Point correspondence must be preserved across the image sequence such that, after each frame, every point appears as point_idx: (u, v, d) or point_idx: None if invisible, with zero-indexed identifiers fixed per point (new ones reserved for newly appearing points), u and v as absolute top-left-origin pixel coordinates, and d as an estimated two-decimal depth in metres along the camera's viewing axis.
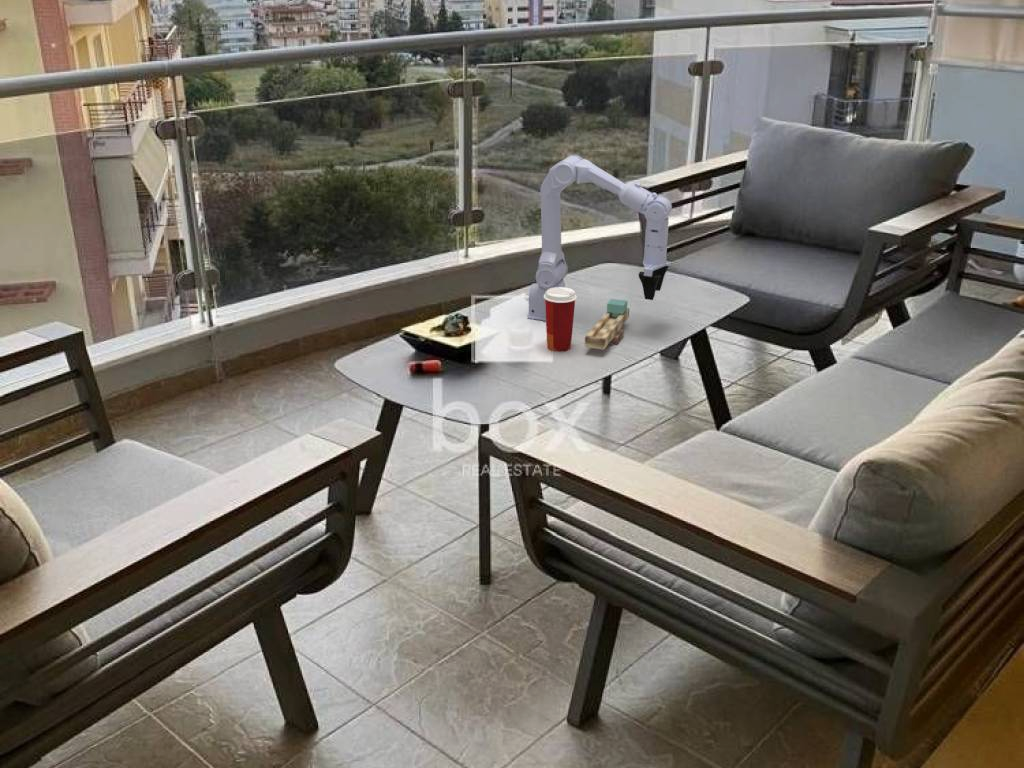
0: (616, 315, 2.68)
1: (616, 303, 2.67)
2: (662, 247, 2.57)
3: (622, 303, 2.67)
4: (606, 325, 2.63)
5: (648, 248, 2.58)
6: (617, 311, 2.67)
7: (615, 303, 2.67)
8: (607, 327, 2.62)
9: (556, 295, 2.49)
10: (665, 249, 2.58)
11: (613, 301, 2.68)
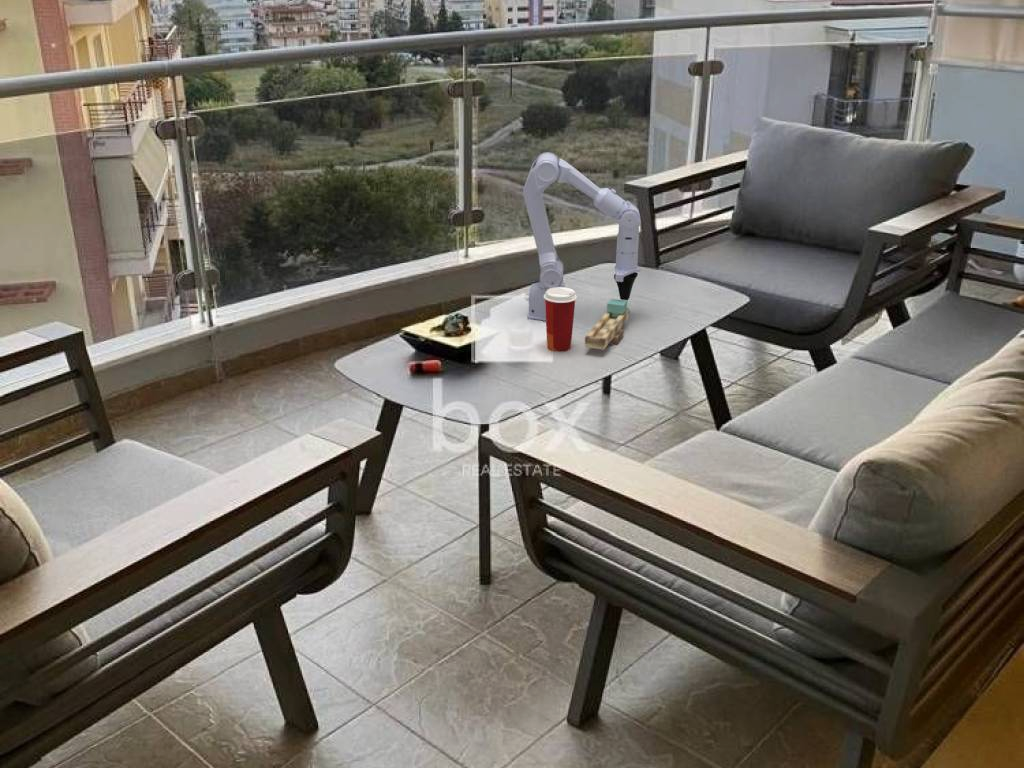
0: (616, 315, 2.68)
1: (616, 303, 2.67)
2: (633, 253, 2.67)
3: (622, 303, 2.67)
4: (606, 325, 2.63)
5: (619, 254, 2.68)
6: (617, 311, 2.67)
7: (615, 303, 2.67)
8: (607, 327, 2.62)
9: (556, 295, 2.49)
10: (636, 255, 2.68)
11: (613, 301, 2.68)
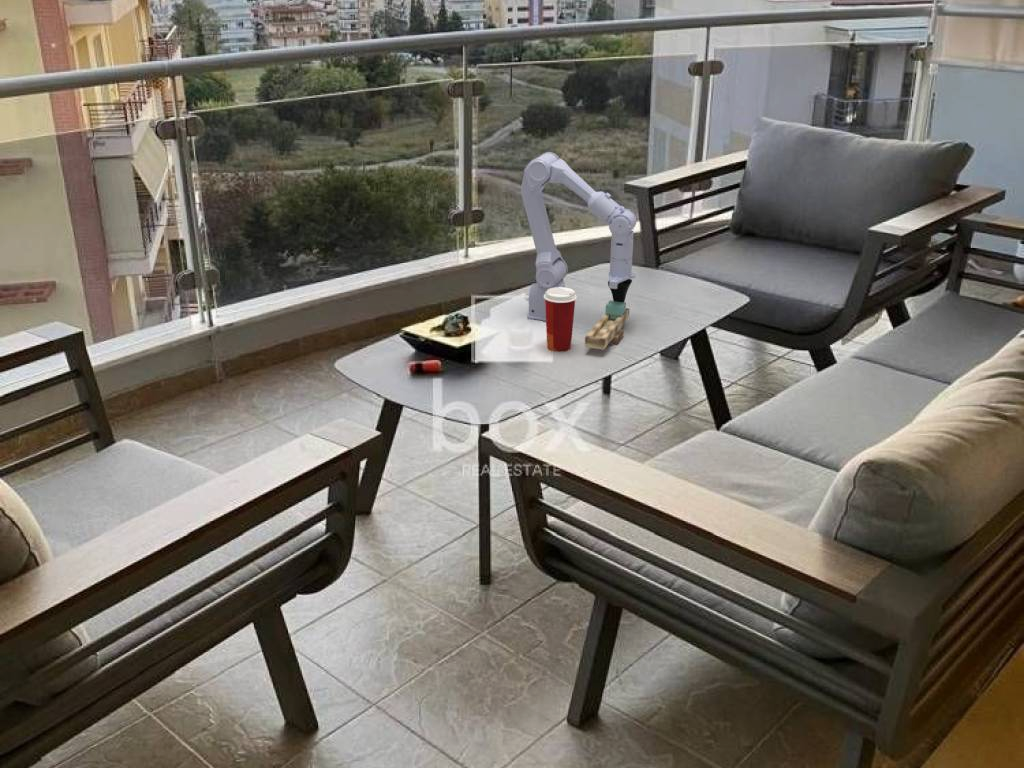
0: (614, 317, 2.66)
1: (615, 305, 2.65)
2: (627, 260, 2.62)
3: (620, 305, 2.65)
4: (606, 325, 2.63)
5: (613, 261, 2.63)
6: (615, 313, 2.65)
7: (613, 305, 2.66)
8: (607, 327, 2.62)
9: (556, 295, 2.49)
10: (630, 262, 2.63)
11: (612, 303, 2.67)
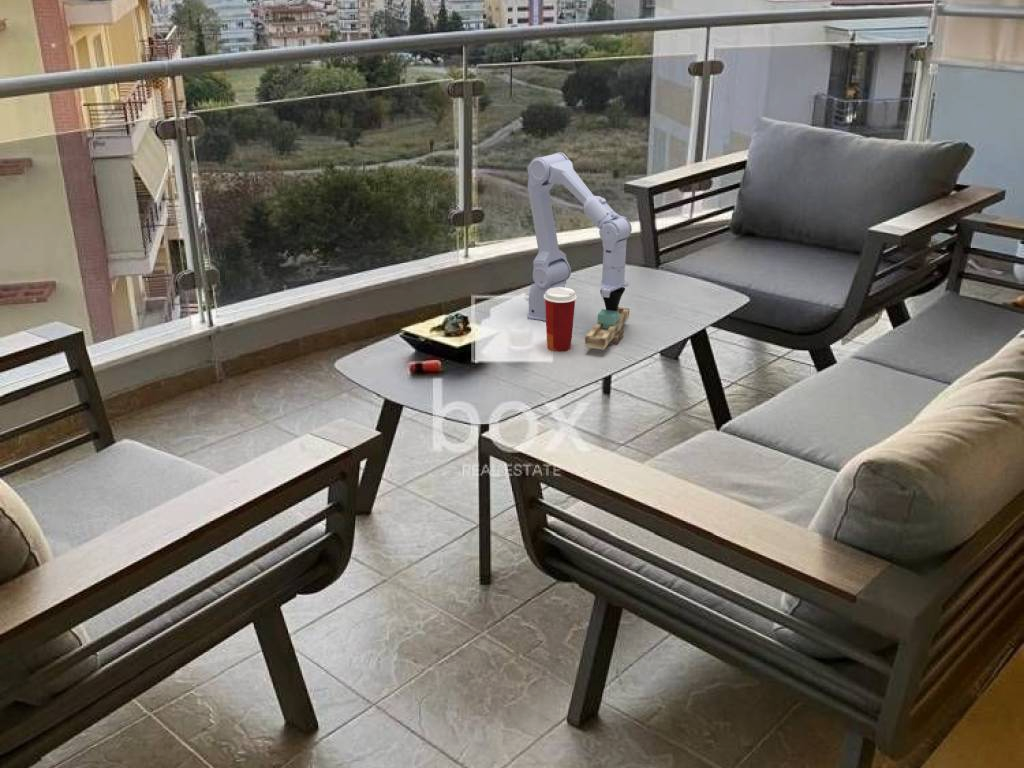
0: (607, 326, 2.60)
1: (607, 314, 2.59)
2: (620, 268, 2.56)
3: (613, 314, 2.59)
4: None
5: (606, 269, 2.57)
6: (608, 322, 2.59)
7: (606, 314, 2.60)
8: None
9: (556, 295, 2.49)
10: (623, 270, 2.57)
11: (604, 312, 2.61)
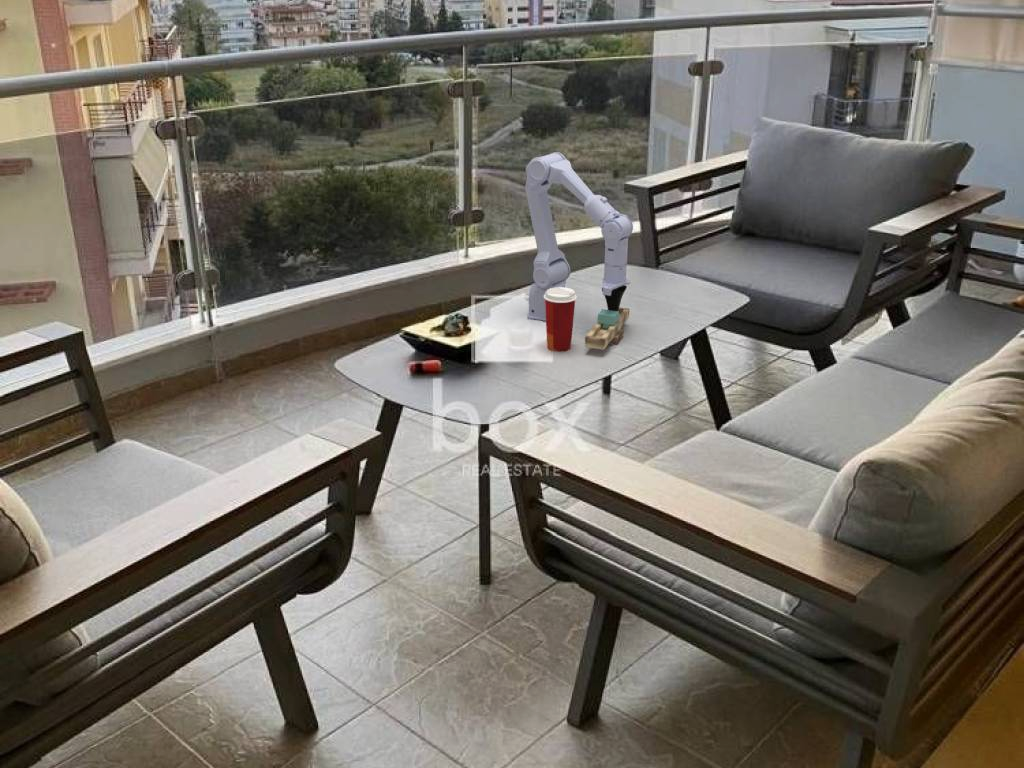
0: (607, 326, 2.60)
1: (607, 314, 2.59)
2: (621, 266, 2.57)
3: (613, 314, 2.59)
4: None
5: (607, 267, 2.58)
6: (608, 322, 2.59)
7: (606, 314, 2.60)
8: None
9: (556, 295, 2.49)
10: (624, 268, 2.58)
11: (604, 312, 2.61)
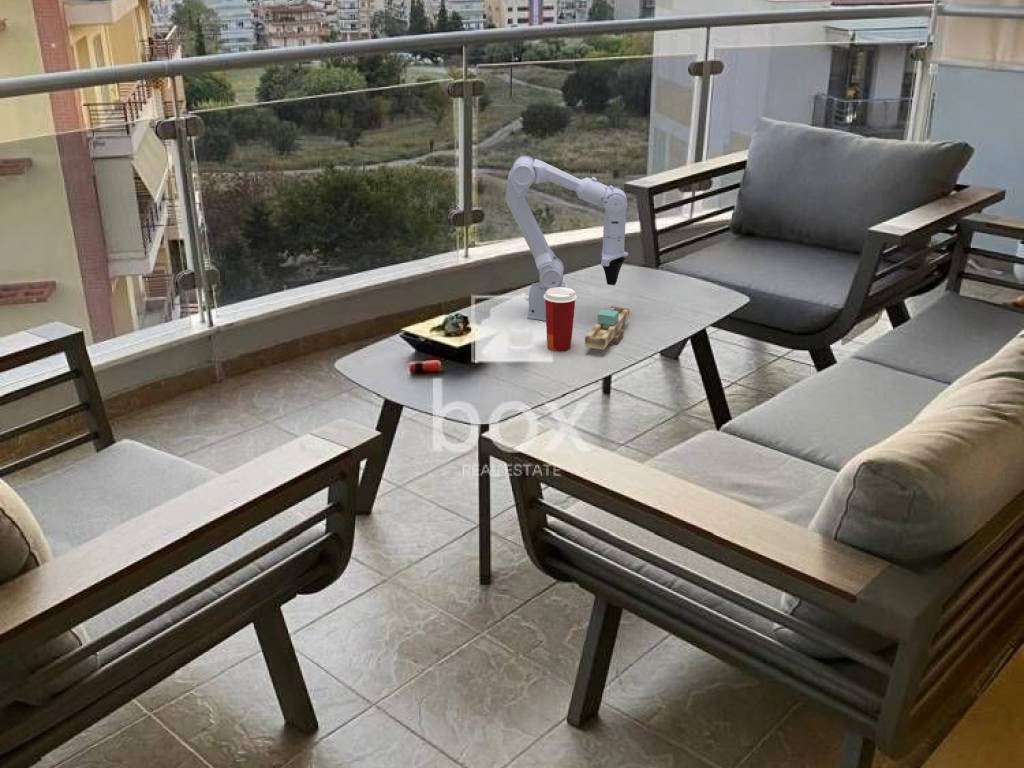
0: (607, 326, 2.60)
1: (607, 314, 2.59)
2: (619, 238, 2.65)
3: (613, 314, 2.59)
4: None
5: (606, 239, 2.66)
6: (608, 322, 2.59)
7: (606, 314, 2.60)
8: None
9: (556, 295, 2.49)
10: (622, 240, 2.66)
11: (604, 312, 2.61)
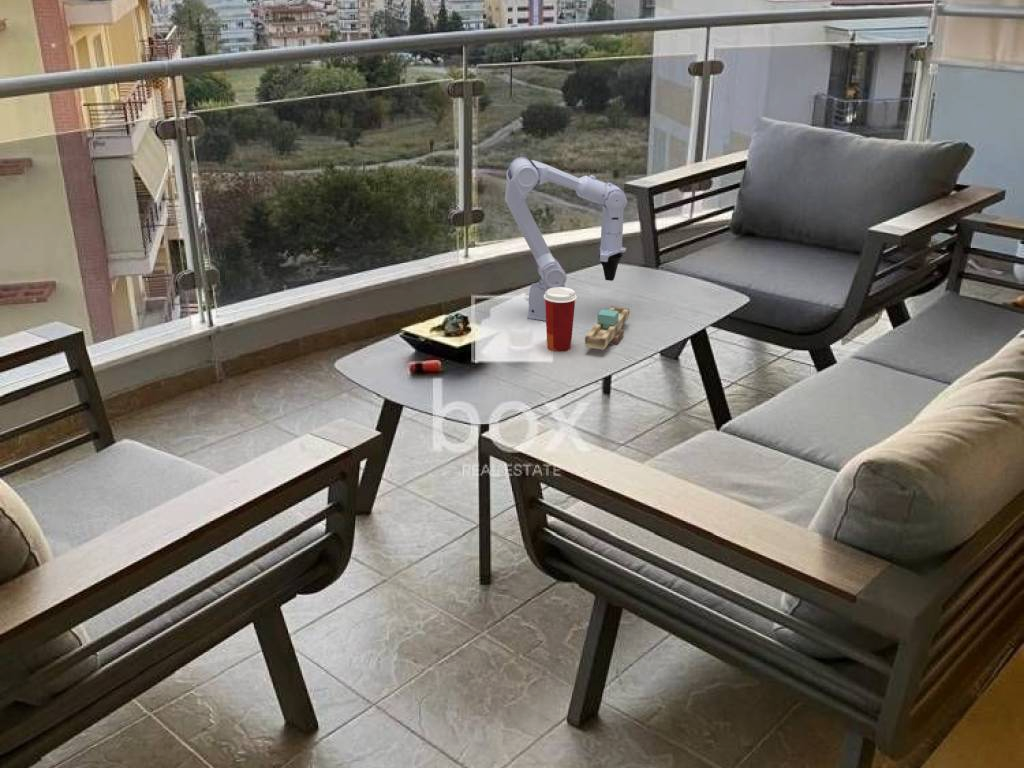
0: (607, 326, 2.60)
1: (607, 314, 2.59)
2: (617, 234, 2.68)
3: (613, 314, 2.59)
4: None
5: (604, 235, 2.69)
6: (608, 322, 2.59)
7: (606, 314, 2.60)
8: None
9: (556, 295, 2.49)
10: (620, 236, 2.70)
11: (604, 312, 2.61)
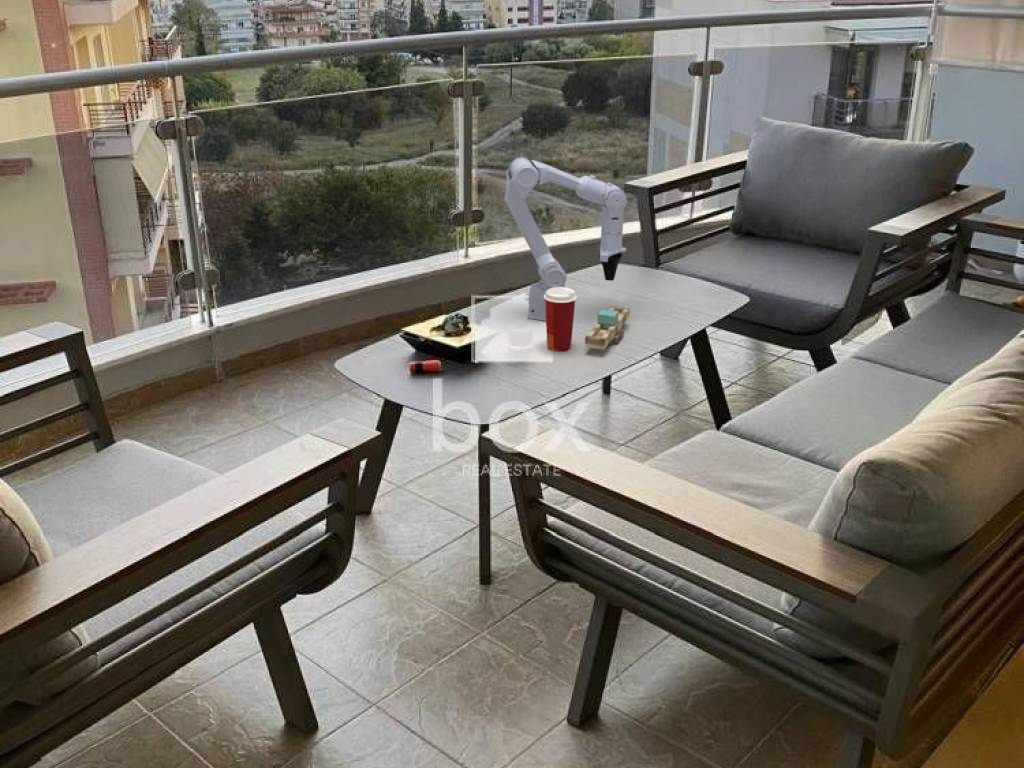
0: (607, 326, 2.60)
1: (607, 314, 2.59)
2: (617, 234, 2.68)
3: (613, 314, 2.59)
4: None
5: (604, 235, 2.69)
6: (608, 322, 2.59)
7: (606, 314, 2.60)
8: None
9: (556, 295, 2.49)
10: (620, 236, 2.70)
11: (604, 312, 2.61)
